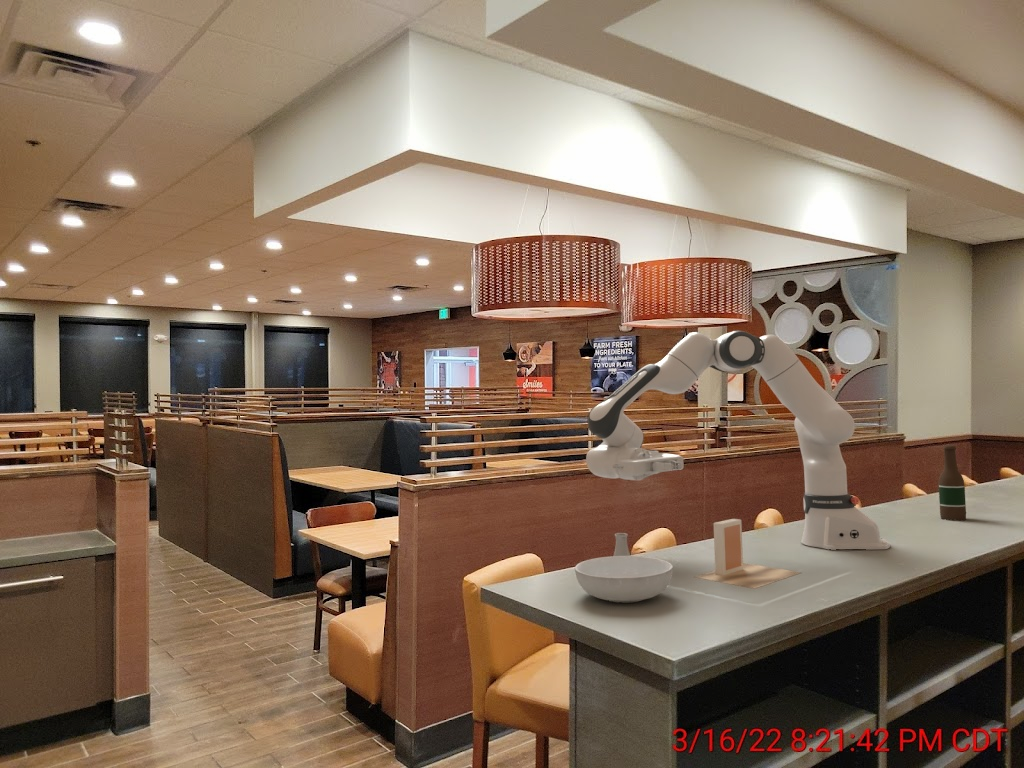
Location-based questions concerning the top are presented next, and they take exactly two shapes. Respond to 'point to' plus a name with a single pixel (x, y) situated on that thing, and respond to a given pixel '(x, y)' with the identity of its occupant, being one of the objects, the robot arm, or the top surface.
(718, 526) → the tile
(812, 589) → the top surface
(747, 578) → the wooden board
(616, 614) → the top surface
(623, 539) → the flask
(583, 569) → the serving bowl
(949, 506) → the beer bottle
